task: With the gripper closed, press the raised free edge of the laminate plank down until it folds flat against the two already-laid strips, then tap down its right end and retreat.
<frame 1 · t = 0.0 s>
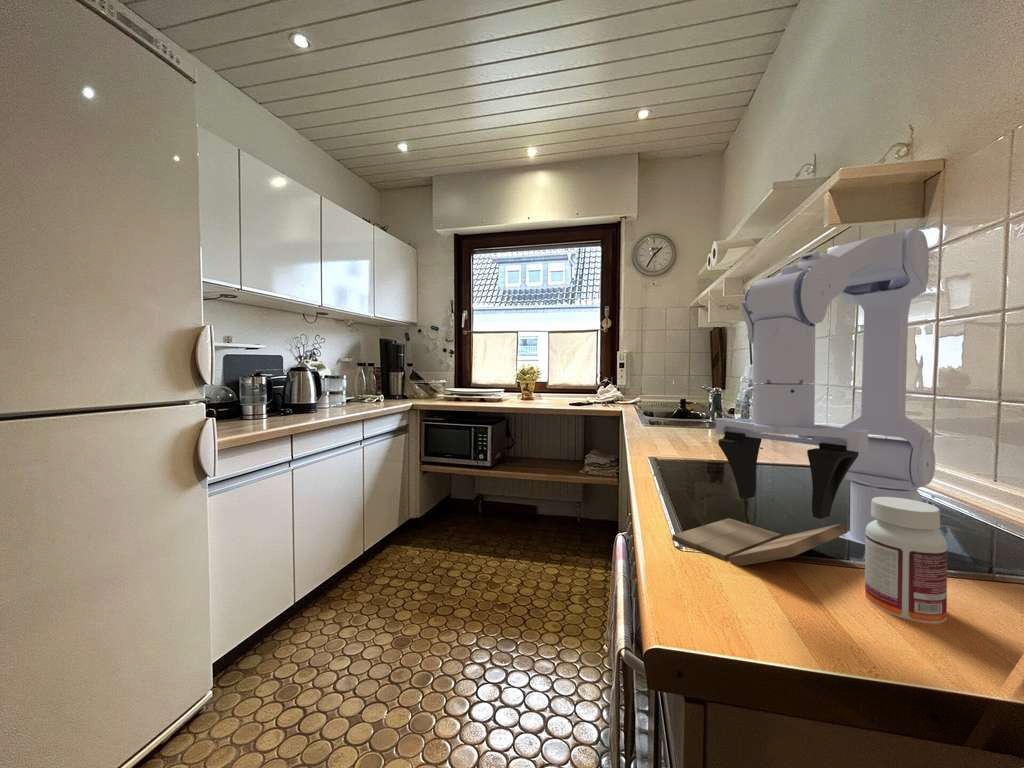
hand: (781, 506, 45), 10 cm above the worktop, fingers open, 7 cm apart
pill bottle: (903, 613, 43), on the worktop
plank: (788, 545, 53), point 3 cm above the worktop, hinge at 30.0°
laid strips: (726, 542, 60), on the worktop
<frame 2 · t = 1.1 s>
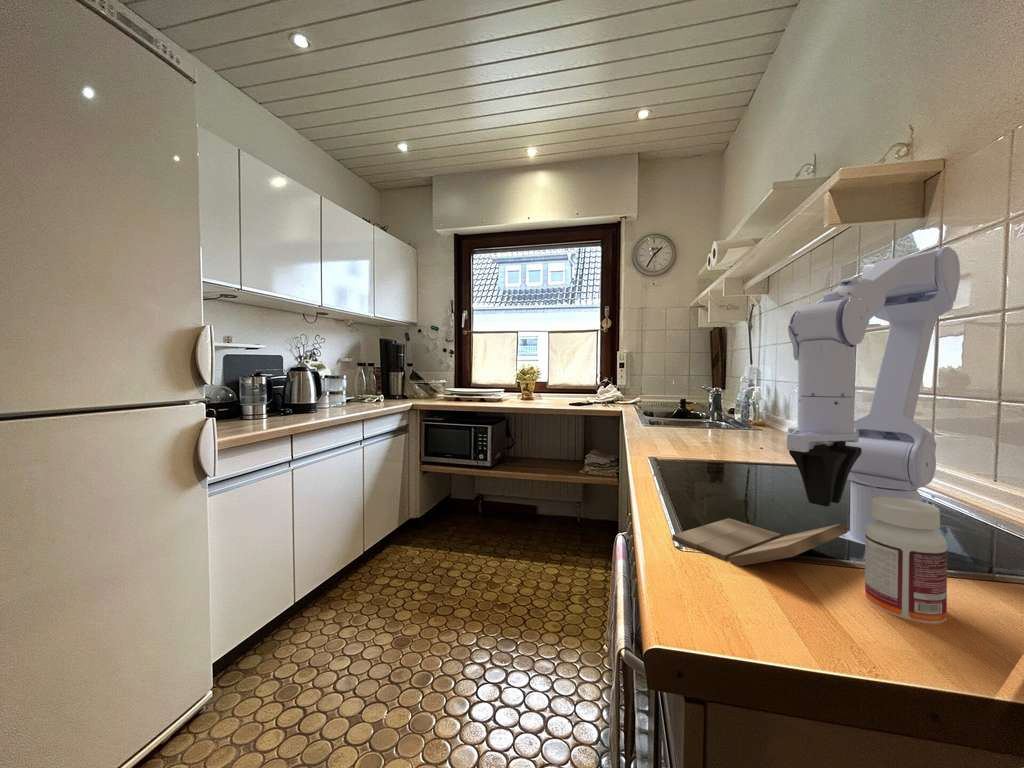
hand: (824, 502, 52), 8 cm above the worktop, fingers closed
nothing on the worktop moved.
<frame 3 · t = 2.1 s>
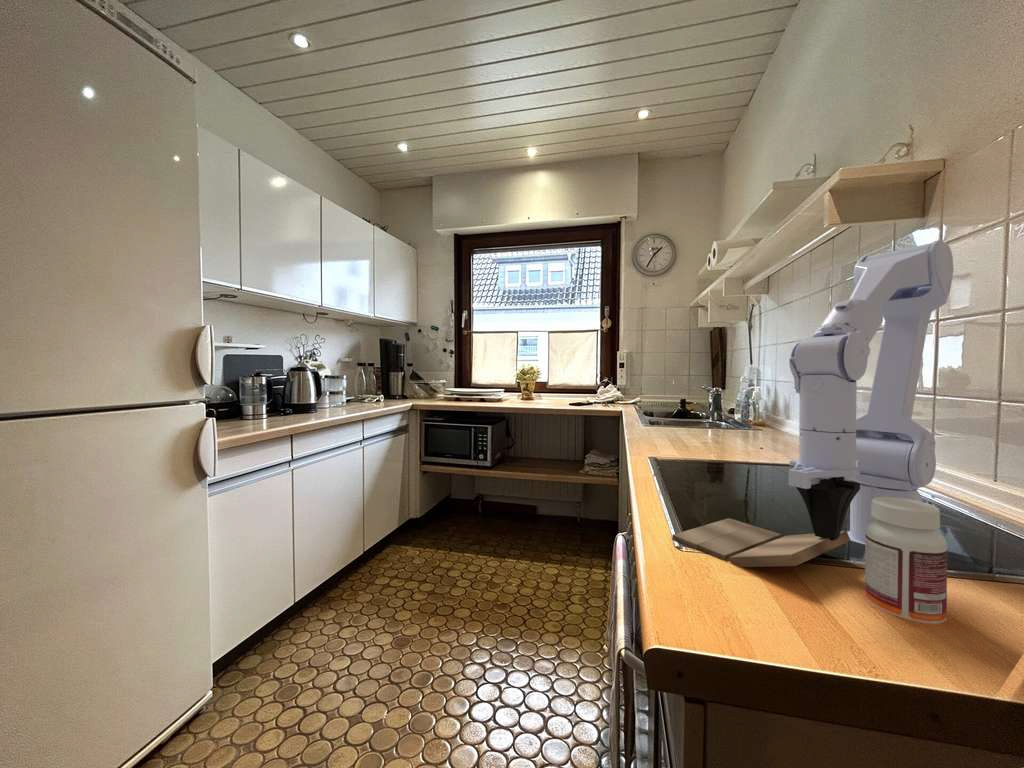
hand: (826, 537, 52), 4 cm above the worktop, fingers closed, pressing on plank
plank: (789, 548, 53), point 2 cm above the worktop, hinge at 23.1°, touching gripper
everything else where it was.
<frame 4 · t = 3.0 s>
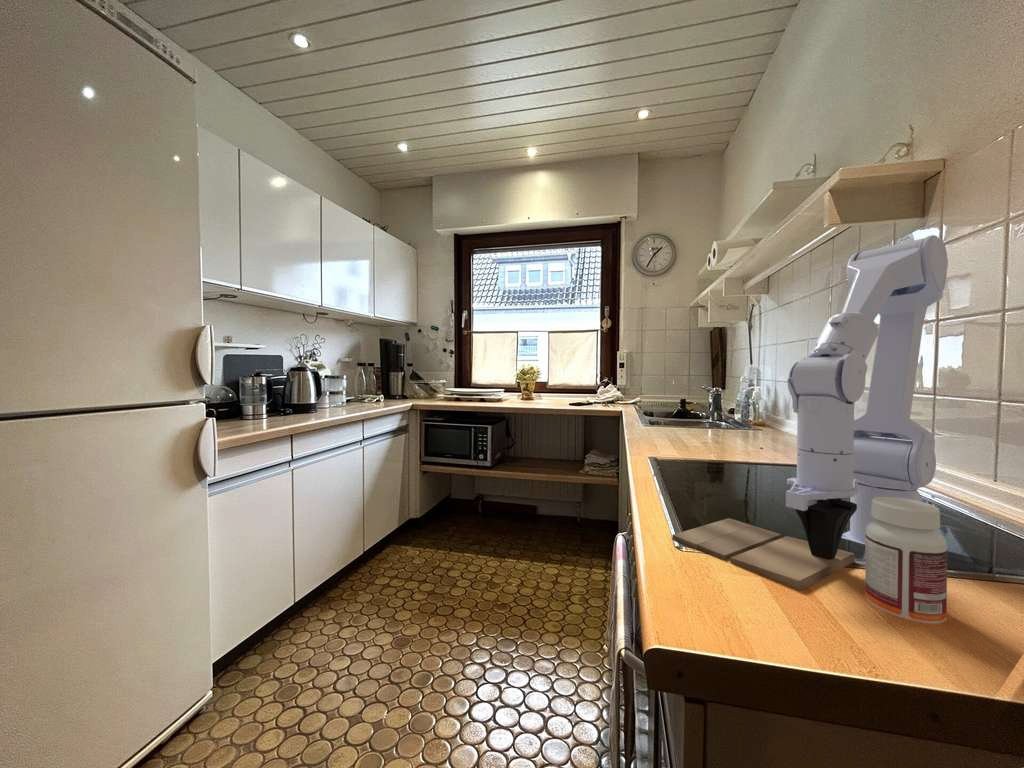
hand: (822, 556, 52), 1 cm above the worktop, fingers closed, pressing on plank
plank: (792, 560, 53), point 1 cm above the worktop, hinge at 3.2°, touching gripper
everything else where it was.
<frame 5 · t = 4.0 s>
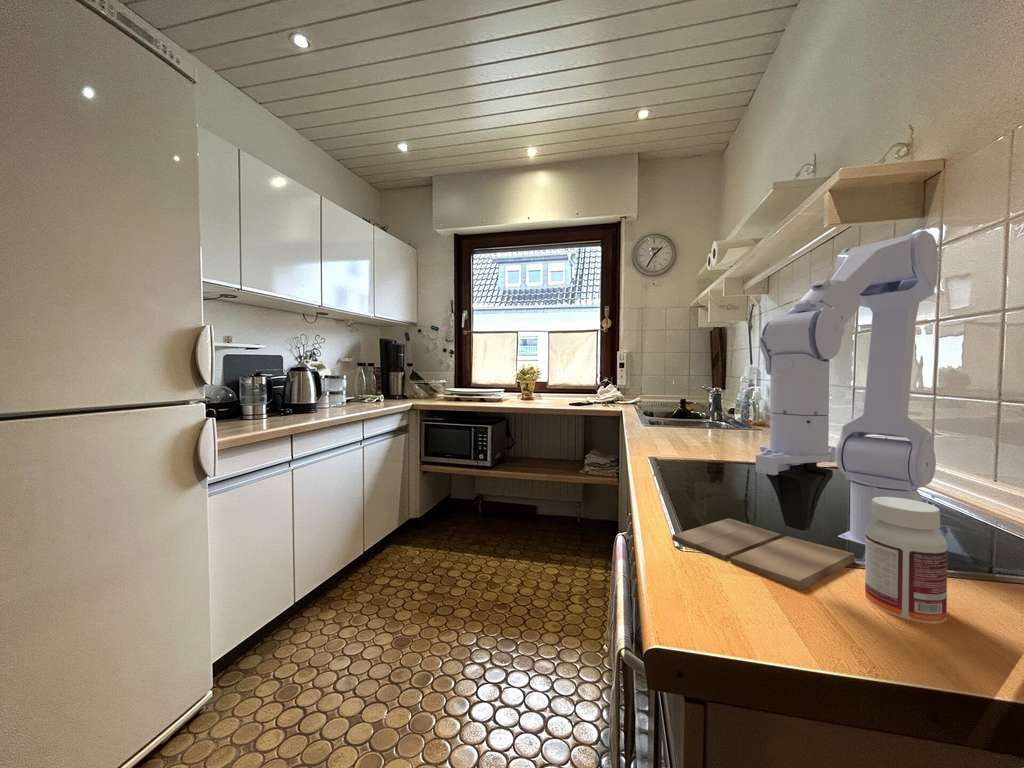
hand: (797, 527, 49), 7 cm above the worktop, fingers closed
plank: (792, 560, 53), point 1 cm above the worktop, hinge at 3.2°
everything else where it was.
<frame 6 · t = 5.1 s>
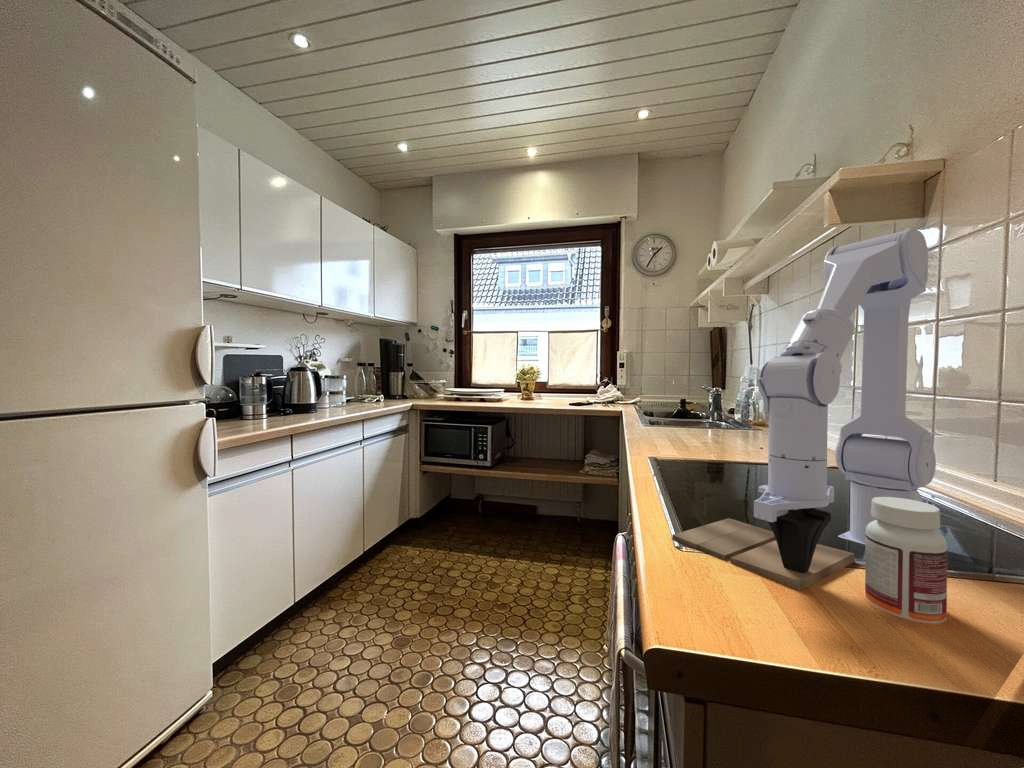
hand: (795, 569, 49), 1 cm above the worktop, fingers closed, pressing on plank
plank: (792, 560, 53), point 1 cm above the worktop, hinge at 3.2°, touching gripper
everything else where it was.
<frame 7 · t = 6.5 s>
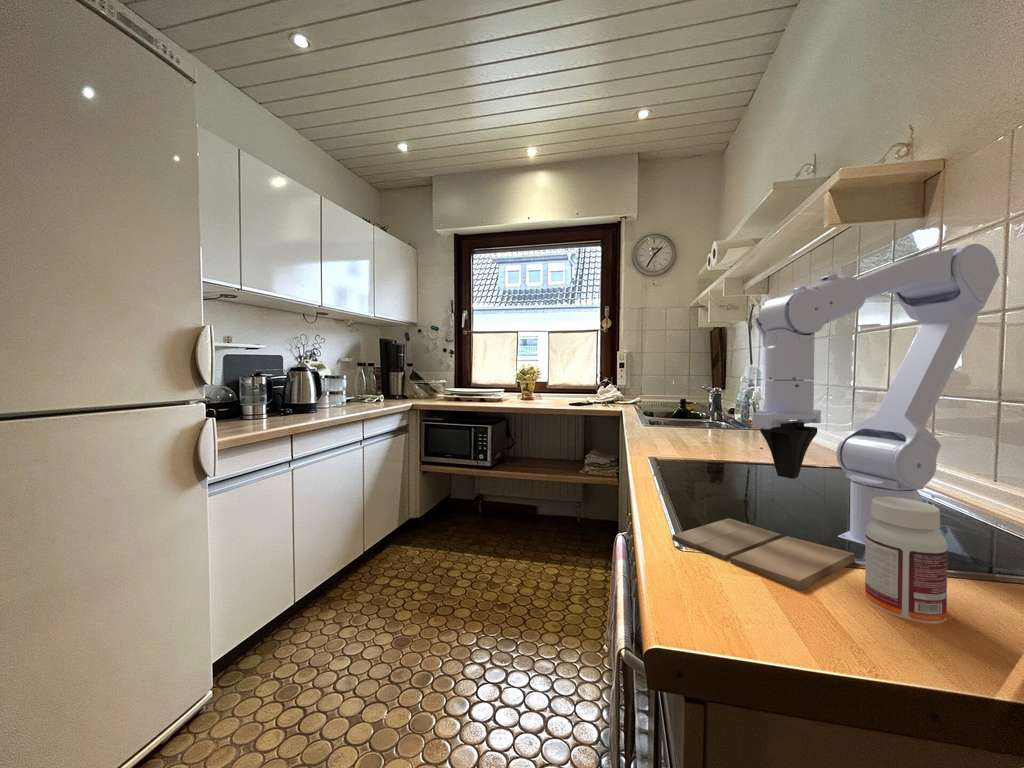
hand: (787, 476, 57), 10 cm above the worktop, fingers closed
plank: (792, 560, 53), point 1 cm above the worktop, hinge at 3.2°
everything else where it was.
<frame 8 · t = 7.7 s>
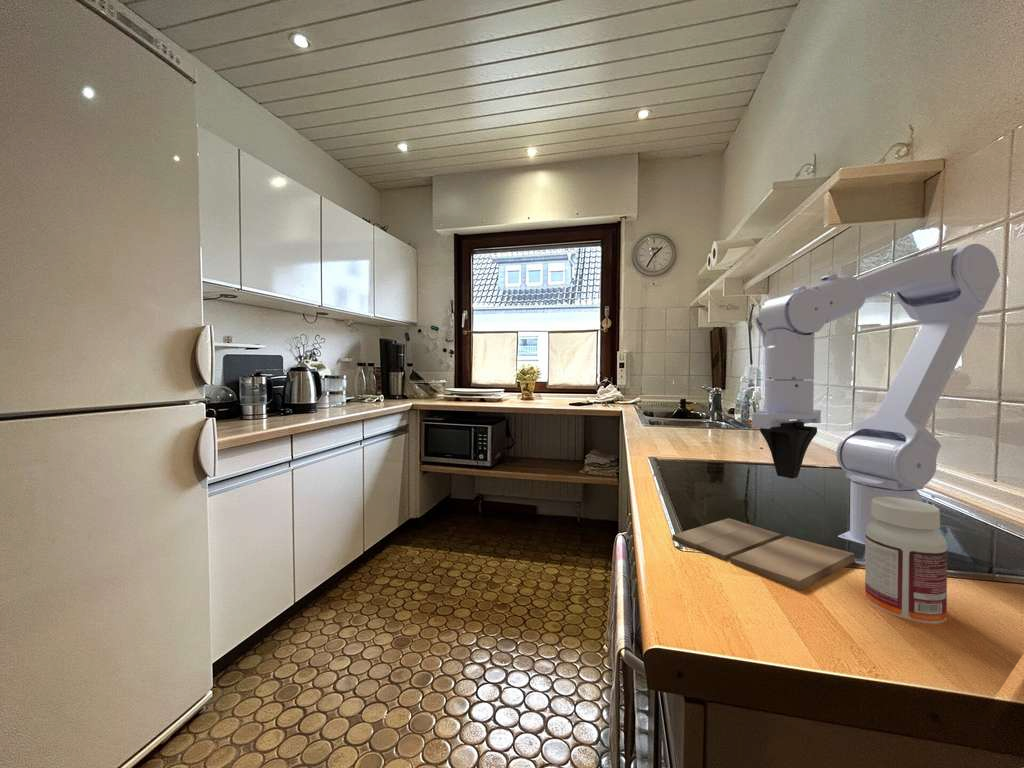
hand: (787, 476, 57), 10 cm above the worktop, fingers closed
nothing on the worktop moved.
at the end: plank at +3° (first picture: +30°); the gripper is holding nothing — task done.
